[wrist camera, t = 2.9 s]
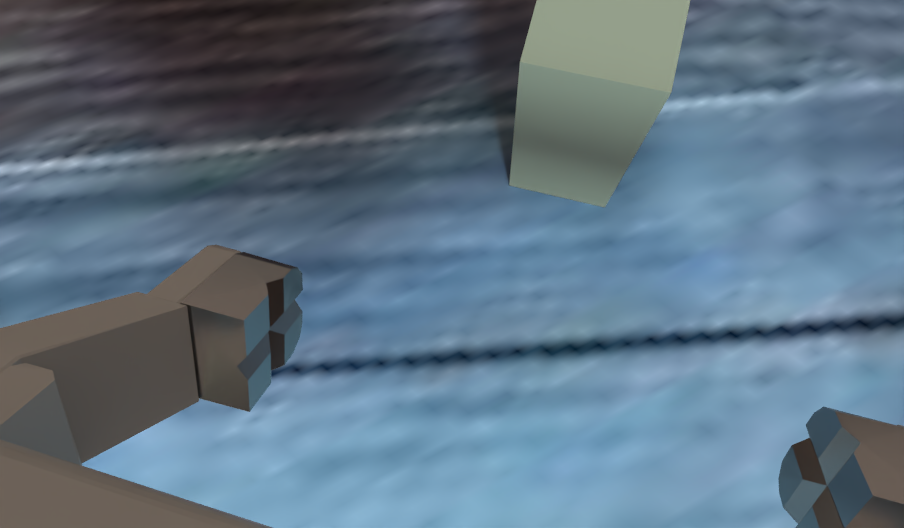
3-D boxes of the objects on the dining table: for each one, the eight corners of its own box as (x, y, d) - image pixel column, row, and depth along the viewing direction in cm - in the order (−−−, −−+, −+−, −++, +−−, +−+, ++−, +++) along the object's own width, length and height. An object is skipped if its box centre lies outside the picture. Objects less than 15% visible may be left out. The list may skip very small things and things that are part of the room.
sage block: (509, 185, 24) (519, 62, 16) (531, 100, 25) (553, -62, 16) (604, 207, 24) (670, 92, 15) (624, 120, 25) (697, -36, 16)
